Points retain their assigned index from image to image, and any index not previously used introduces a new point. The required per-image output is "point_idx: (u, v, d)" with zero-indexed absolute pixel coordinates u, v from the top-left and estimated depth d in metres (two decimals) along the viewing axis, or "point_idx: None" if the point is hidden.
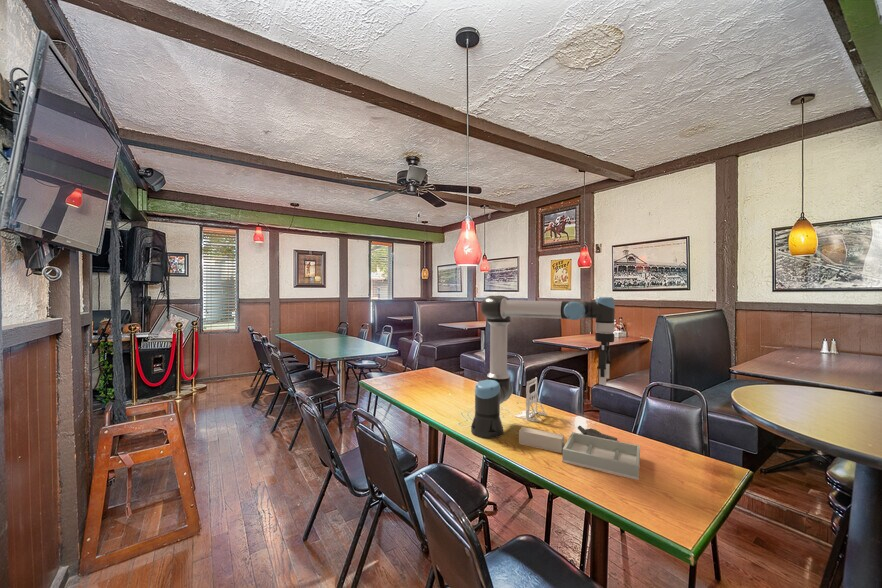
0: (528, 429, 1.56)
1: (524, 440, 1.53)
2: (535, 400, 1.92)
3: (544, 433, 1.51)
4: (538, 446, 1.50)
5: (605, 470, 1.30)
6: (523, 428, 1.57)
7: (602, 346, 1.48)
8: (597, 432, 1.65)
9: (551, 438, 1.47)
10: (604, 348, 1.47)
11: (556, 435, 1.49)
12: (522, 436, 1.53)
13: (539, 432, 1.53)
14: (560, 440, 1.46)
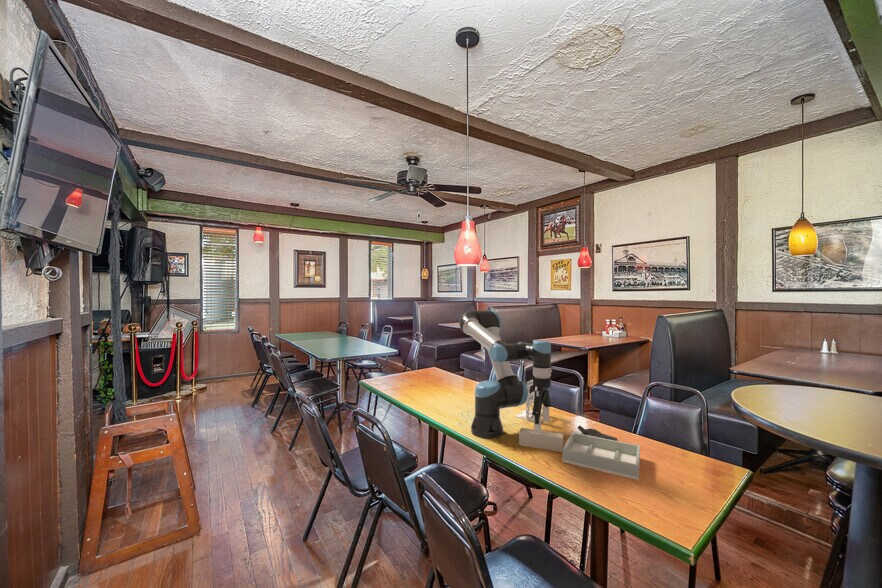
0: (527, 430, 1.55)
1: (524, 441, 1.52)
2: None
3: (544, 433, 1.51)
4: (539, 446, 1.50)
5: (605, 470, 1.30)
6: (522, 429, 1.56)
7: (537, 392, 1.46)
8: (597, 432, 1.65)
9: (552, 437, 1.48)
10: (538, 394, 1.46)
11: (556, 434, 1.50)
12: (523, 437, 1.52)
13: (539, 432, 1.53)
14: (561, 439, 1.46)
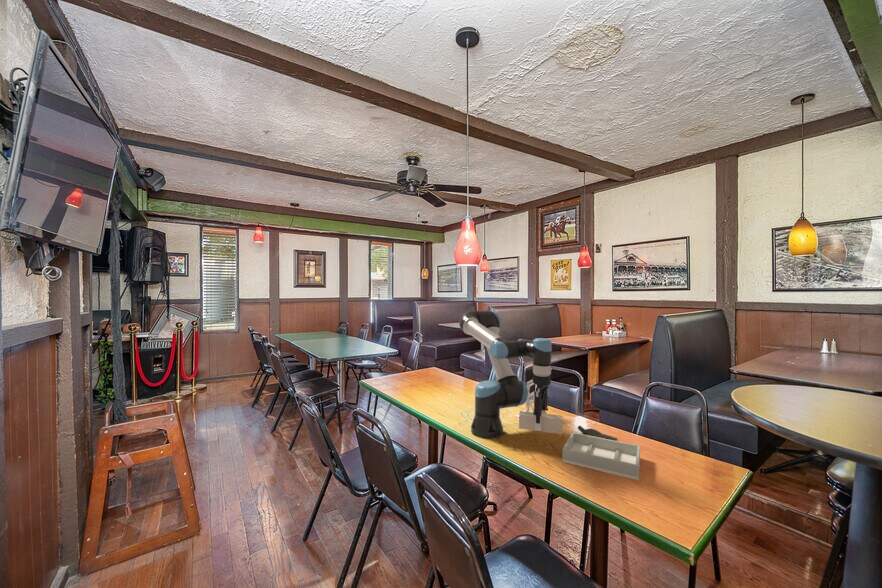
0: (527, 413, 1.55)
1: (524, 424, 1.52)
2: None
3: (544, 415, 1.52)
4: None
5: (605, 470, 1.30)
6: (522, 412, 1.55)
7: (536, 393, 1.47)
8: (597, 432, 1.65)
9: (553, 419, 1.49)
10: (538, 395, 1.46)
11: (556, 416, 1.51)
12: (523, 420, 1.52)
13: None
14: (561, 421, 1.48)
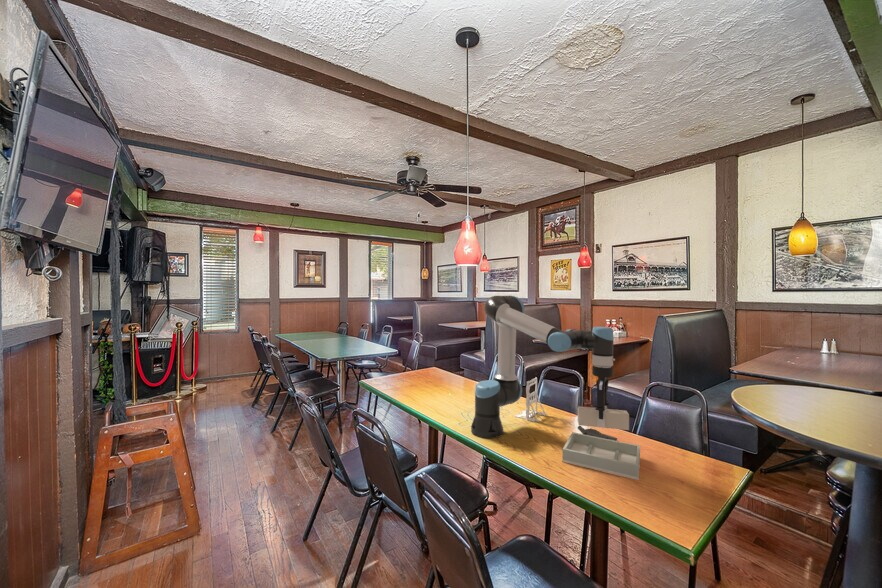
0: (586, 408, 1.42)
1: (585, 420, 1.39)
2: (535, 400, 1.92)
3: (606, 410, 1.39)
4: None
5: (605, 470, 1.30)
6: (580, 407, 1.43)
7: (600, 386, 1.34)
8: (597, 432, 1.65)
9: (617, 414, 1.36)
10: (602, 388, 1.34)
11: (619, 411, 1.38)
12: (583, 416, 1.39)
13: None
14: (627, 416, 1.35)
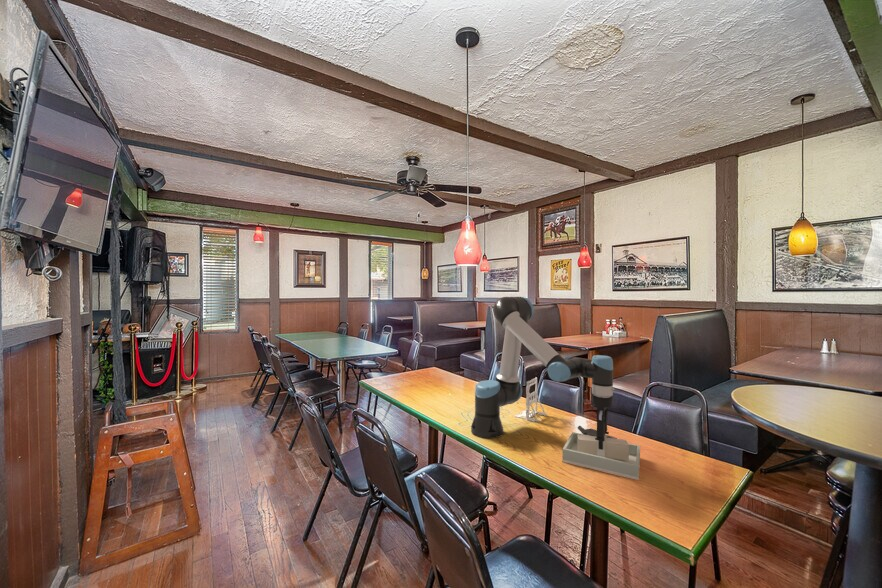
0: (586, 437, 1.42)
1: (584, 450, 1.39)
2: (535, 400, 1.92)
3: (606, 440, 1.39)
4: None
5: (605, 470, 1.30)
6: (580, 436, 1.43)
7: (599, 416, 1.34)
8: None
9: (617, 444, 1.36)
10: (602, 419, 1.34)
11: (619, 441, 1.38)
12: (583, 445, 1.39)
13: None
14: (627, 446, 1.35)
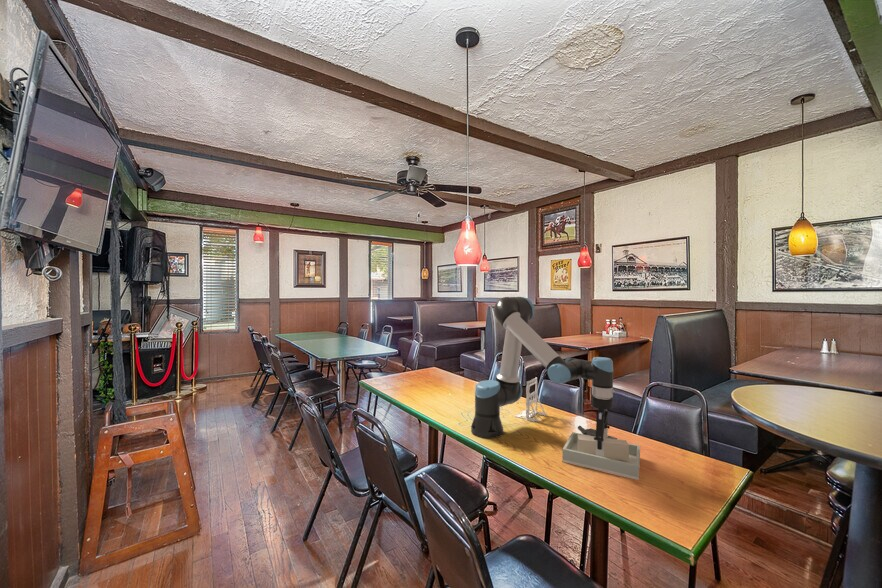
0: (586, 437, 1.42)
1: (584, 450, 1.39)
2: (535, 400, 1.92)
3: (606, 440, 1.39)
4: None
5: (605, 470, 1.30)
6: (580, 436, 1.43)
7: (599, 415, 1.34)
8: None
9: (617, 445, 1.36)
10: (601, 417, 1.33)
11: (619, 441, 1.38)
12: (583, 445, 1.39)
13: None
14: (627, 446, 1.35)
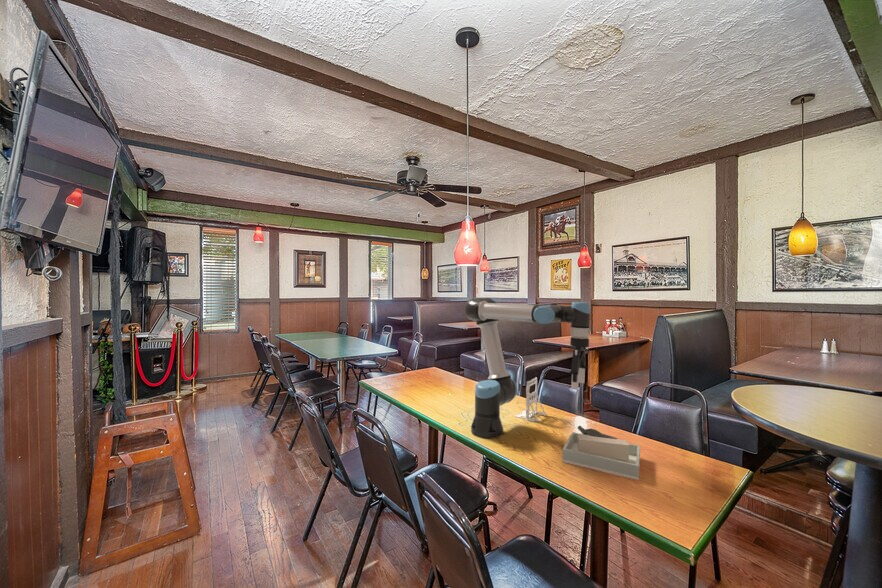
0: (586, 437, 1.42)
1: (584, 450, 1.39)
2: (535, 400, 1.92)
3: (606, 440, 1.39)
4: (601, 455, 1.37)
5: (605, 470, 1.30)
6: (580, 436, 1.43)
7: (575, 351, 1.48)
8: (597, 432, 1.65)
9: (617, 445, 1.36)
10: (577, 353, 1.47)
11: (619, 441, 1.38)
12: (583, 445, 1.39)
13: (599, 439, 1.40)
14: (627, 446, 1.35)
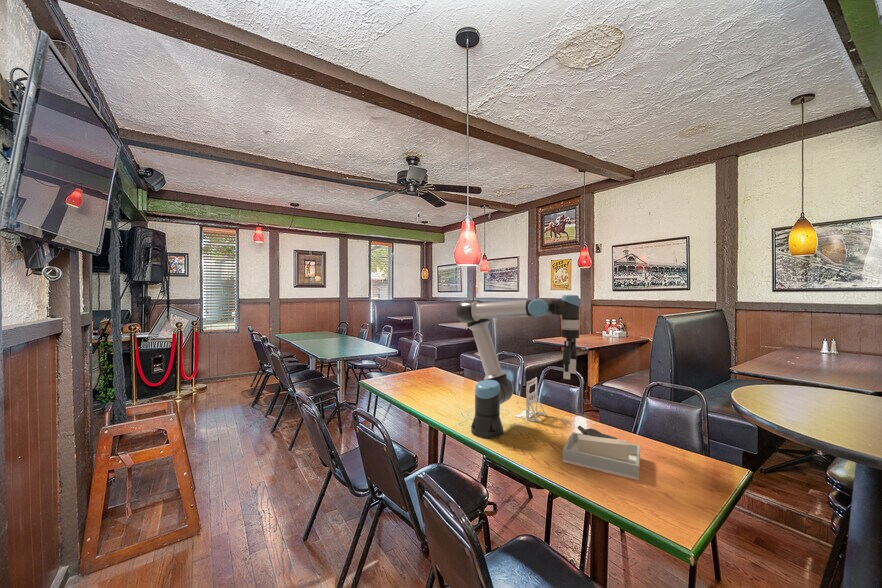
0: (586, 437, 1.42)
1: (584, 450, 1.39)
2: (535, 400, 1.92)
3: (606, 440, 1.39)
4: (601, 455, 1.37)
5: (605, 470, 1.30)
6: (580, 436, 1.43)
7: (566, 342, 1.54)
8: (597, 432, 1.65)
9: (617, 445, 1.36)
10: (568, 344, 1.53)
11: (619, 441, 1.38)
12: (583, 445, 1.39)
13: (599, 439, 1.40)
14: (627, 446, 1.35)
